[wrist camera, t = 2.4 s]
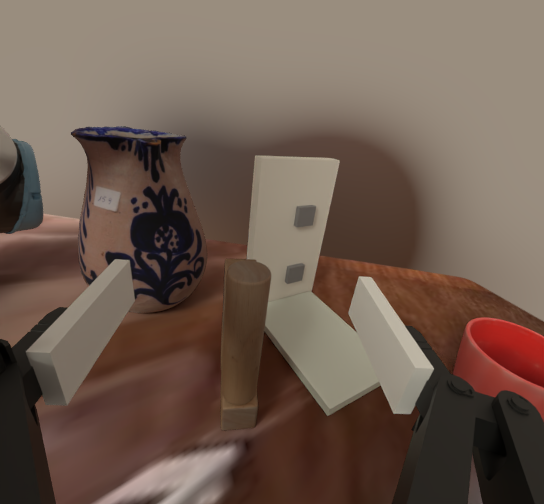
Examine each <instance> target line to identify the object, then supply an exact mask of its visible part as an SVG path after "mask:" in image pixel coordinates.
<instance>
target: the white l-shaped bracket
mask: <svg viewBox="0 0 544 504" xmlns="http://www.w3.org/2000/svg"><path fill="white" fill-rule="evenodd" d="M339 162H340V161H339V160H336V159H333V158H311V157H281V156H255V164H254V176H253V187H252V188H253V189H252V200H251V211H250V224H249V235H248V247H247V259H255V260H256V261H257V262H260V263H262V264H264V265H266V266H267V267H268V268H269V270H270V272H271V283H270V291H269V299H268V306H267V314H266V321H265V329H264V331H265V333H266V334H267V335H268V337H269V338H270V339H271V341H272V342H273V344H274V345H275V346H276V348H277V349H278V350H279V352H280V353H281V354H282V356H283V357H284V358H285V360H286V361H287V362H288V364H289V365H290V366H291V368H292V369H293V370H294V372H295V373H296V374H297V376H298V377H299V378H300V380H301V381H302V382H303V384H304V385H305V386H306V388H307V389H308V390H309V392H310V393H311V394H312V396H313V397H314V399H315V400H316V401H317V403H318V404H319V405H320V407H321V408H322V409H323V411H324V412H325V413H326V415H327V416H329V415H330V414H332V413H334V412H336V411H337V410H339V409H341V408H343V407H344V406H346V405H348V404H350V403H351V402H353V401H355V400H356V399H358V398H360V397H362V396H363V395H365V394H367V393H369V392H370V391H372V390H374V389H376V388H377V387H379V386H381V385H380V382H379V380H378V378H377V376H376V374H375V371H374V369H373V367H372V365H371V362H370V360H369V358H368V356H367V354H366V351H365V349H364V347H363V345H362V342H361V340H360V338H359V336H358V334H357V332H356V331H355V330H353V329H352V328H351V327H350V326H349V325H348V324H347V323H346V322H345V321H343V320H342V319H341V318H340V317H339V316H338V315H337V314H336V313H334V312H333V311H332V310H331V309H330V308H329V307H328V306H327V305H326V304H324V303H323V302H322V301H321V300H320V299H319V298H318V297H317V296H315V295H314V294H313V293H312V287H313V283H314V278H315V273H316V269H317V264H318V259H319V255H320V250H321V245H322V241H323V236H324V231H325V227H326V222H327V217H328V213H329V208H330V203H331V199H332V195H333V190H334V185H335V180H336V176H337V172H338V167H339Z"/></svg>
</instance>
